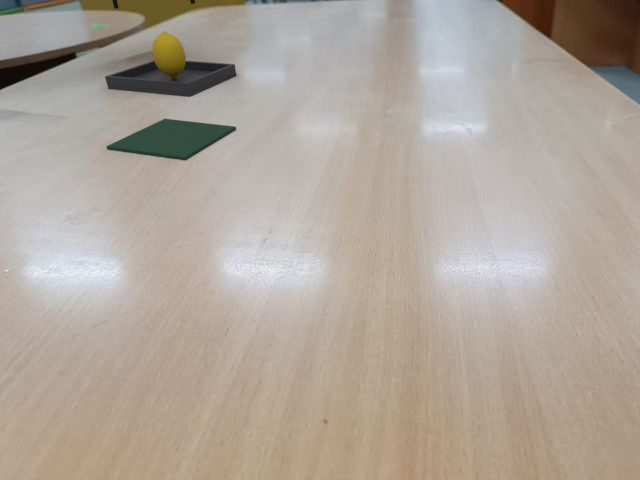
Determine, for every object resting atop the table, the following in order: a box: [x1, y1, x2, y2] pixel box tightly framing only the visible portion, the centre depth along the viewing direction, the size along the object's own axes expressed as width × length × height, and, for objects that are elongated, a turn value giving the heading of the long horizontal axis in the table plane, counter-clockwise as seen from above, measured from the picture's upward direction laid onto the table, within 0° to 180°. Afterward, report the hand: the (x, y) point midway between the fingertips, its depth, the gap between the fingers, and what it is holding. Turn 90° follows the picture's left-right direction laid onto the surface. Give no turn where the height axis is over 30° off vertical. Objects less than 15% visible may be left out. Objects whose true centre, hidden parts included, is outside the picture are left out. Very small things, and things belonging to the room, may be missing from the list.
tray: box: [104, 60, 237, 97], centre depth 94 cm, size 17×15×2 cm
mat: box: [106, 118, 237, 161], centre depth 69 cm, size 12×12×1 cm
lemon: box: [151, 30, 187, 78], centre depth 92 cm, size 6×6×8 cm
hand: (155, 1), depth 94 cm, fingers open, 13 cm apart
